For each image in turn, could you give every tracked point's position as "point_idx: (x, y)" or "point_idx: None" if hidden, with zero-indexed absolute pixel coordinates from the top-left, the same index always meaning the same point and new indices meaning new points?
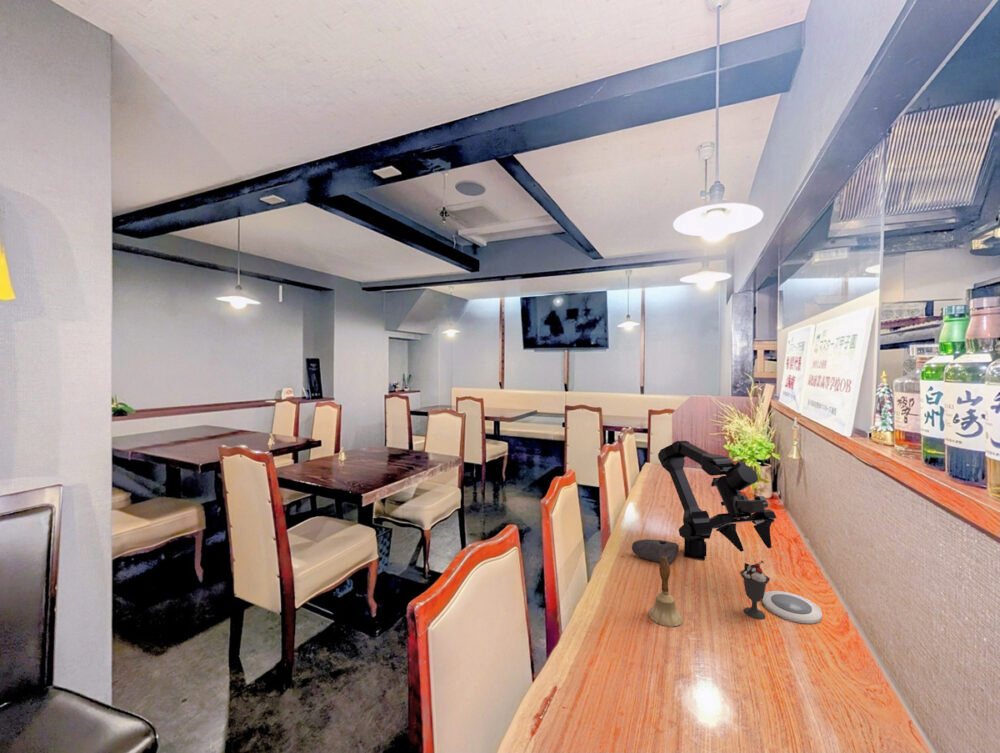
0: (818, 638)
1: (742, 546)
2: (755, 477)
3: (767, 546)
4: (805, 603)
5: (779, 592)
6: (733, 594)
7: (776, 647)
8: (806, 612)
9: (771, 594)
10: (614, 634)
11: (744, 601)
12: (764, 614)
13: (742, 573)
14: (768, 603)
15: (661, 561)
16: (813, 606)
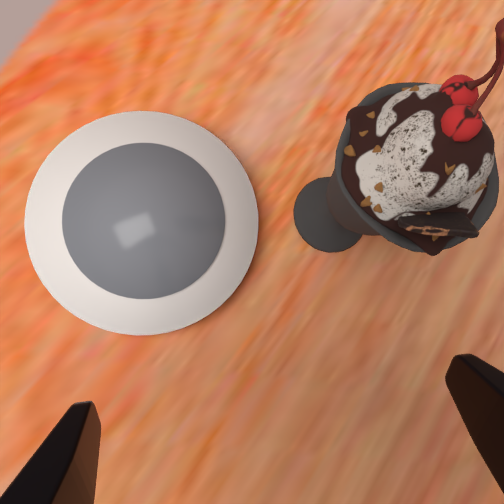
0: (207, 47)
1: (489, 381)
2: None
3: (97, 443)
4: (75, 209)
5: (117, 317)
6: (321, 356)
7: (387, 40)
8: (136, 147)
9: (173, 305)
10: None
11: (310, 299)
12: (300, 197)
13: (476, 209)
14: (246, 238)
15: None
16: (55, 187)
